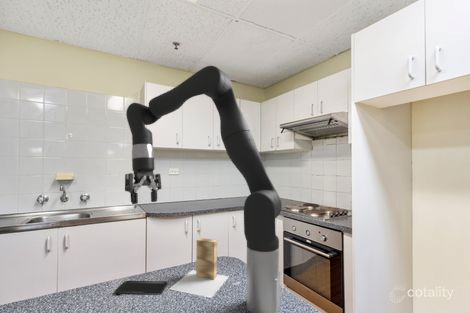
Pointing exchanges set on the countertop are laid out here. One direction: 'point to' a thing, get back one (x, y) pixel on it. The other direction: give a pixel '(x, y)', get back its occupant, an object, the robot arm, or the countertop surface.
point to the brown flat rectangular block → (206, 258)
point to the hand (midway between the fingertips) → (144, 202)
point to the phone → (141, 287)
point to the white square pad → (199, 284)
